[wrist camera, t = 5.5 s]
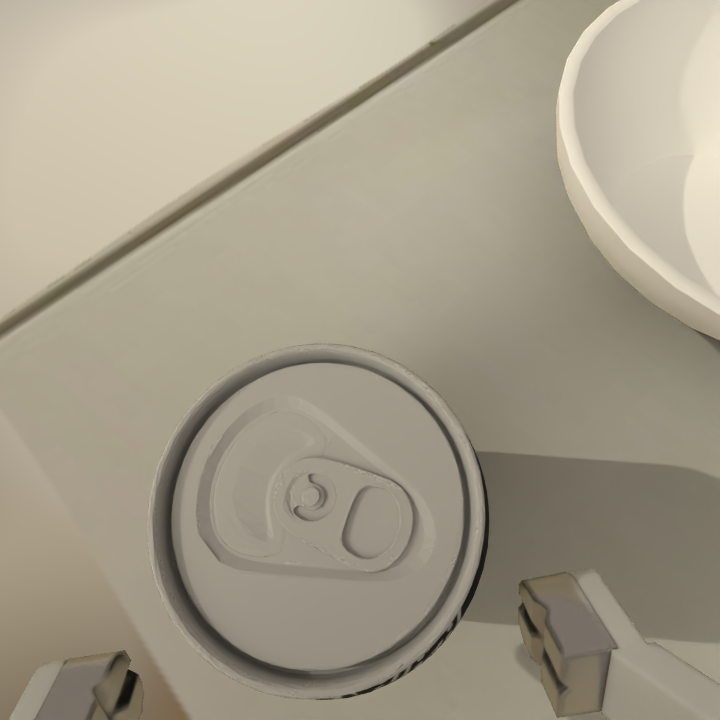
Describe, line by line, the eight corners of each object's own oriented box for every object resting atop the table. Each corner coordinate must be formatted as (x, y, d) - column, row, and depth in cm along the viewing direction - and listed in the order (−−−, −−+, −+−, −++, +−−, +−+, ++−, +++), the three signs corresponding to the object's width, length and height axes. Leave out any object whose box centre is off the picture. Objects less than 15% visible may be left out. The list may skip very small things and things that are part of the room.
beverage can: (308, 419, 20) (234, 278, 9) (448, 475, 19) (555, 393, 8) (241, 567, 18) (38, 617, 7) (394, 639, 17) (438, 829, 6)
